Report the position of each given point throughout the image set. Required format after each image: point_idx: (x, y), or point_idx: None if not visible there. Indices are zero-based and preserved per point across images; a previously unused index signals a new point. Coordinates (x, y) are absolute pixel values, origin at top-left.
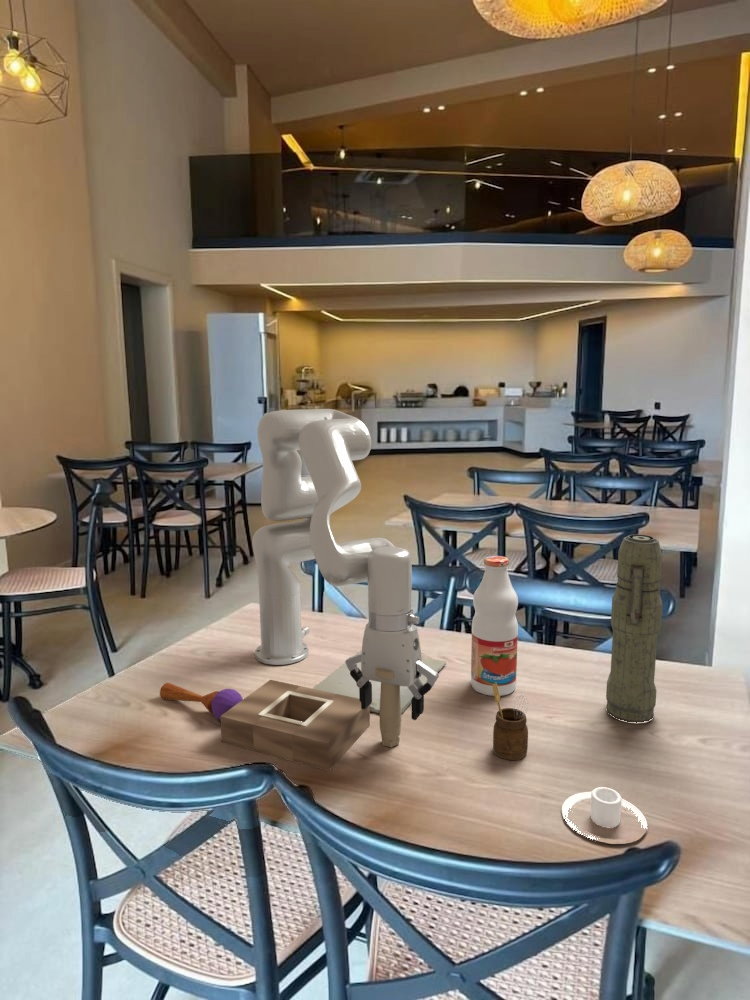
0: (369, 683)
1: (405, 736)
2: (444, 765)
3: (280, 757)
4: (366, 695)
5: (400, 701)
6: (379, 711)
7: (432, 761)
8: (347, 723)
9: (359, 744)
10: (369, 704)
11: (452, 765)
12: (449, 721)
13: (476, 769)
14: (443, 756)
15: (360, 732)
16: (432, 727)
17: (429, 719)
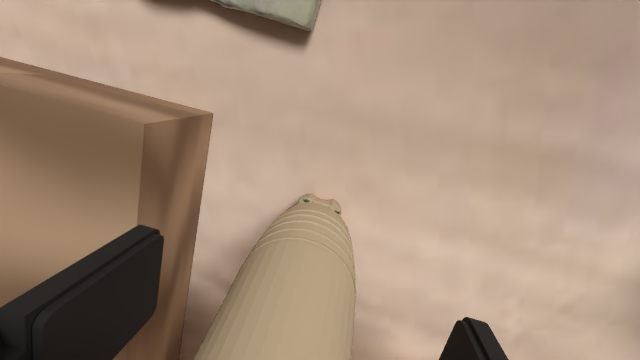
0: (27, 341)
1: (364, 169)
2: (510, 322)
3: None
4: (99, 353)
5: (350, 357)
6: (220, 3)
7: (469, 305)
8: (127, 343)
9: (215, 240)
10: (159, 265)
11: (538, 320)
12: (564, 4)
13: (622, 333)
14: (510, 276)
15: (195, 195)
16: (475, 79)
17: (462, 5)
